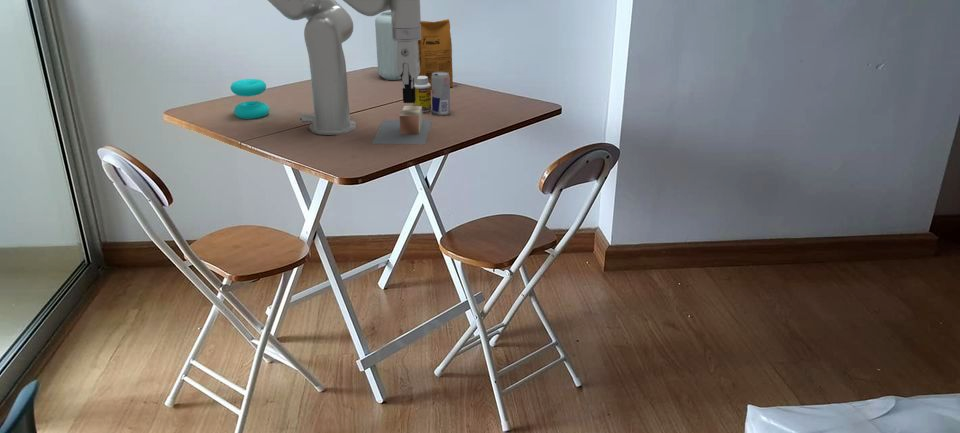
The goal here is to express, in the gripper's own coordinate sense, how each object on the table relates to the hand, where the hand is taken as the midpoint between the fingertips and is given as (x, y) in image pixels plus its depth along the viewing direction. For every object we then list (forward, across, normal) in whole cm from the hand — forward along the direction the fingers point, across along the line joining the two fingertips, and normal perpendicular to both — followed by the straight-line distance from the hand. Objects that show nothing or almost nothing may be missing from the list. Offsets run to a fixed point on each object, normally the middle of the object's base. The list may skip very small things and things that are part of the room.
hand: (409, 102), depth 199 cm
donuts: (+9, +16, +49) cm, 52 cm away
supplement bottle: (+9, +22, -1) cm, 24 cm away
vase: (+9, +64, +13) cm, 66 cm away
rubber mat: (+9, 0, +2) cm, 9 cm away
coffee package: (+9, +52, -2) cm, 53 cm away
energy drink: (+9, +19, -7) cm, 22 cm away
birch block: (+6, -2, 0) cm, 6 cm away
